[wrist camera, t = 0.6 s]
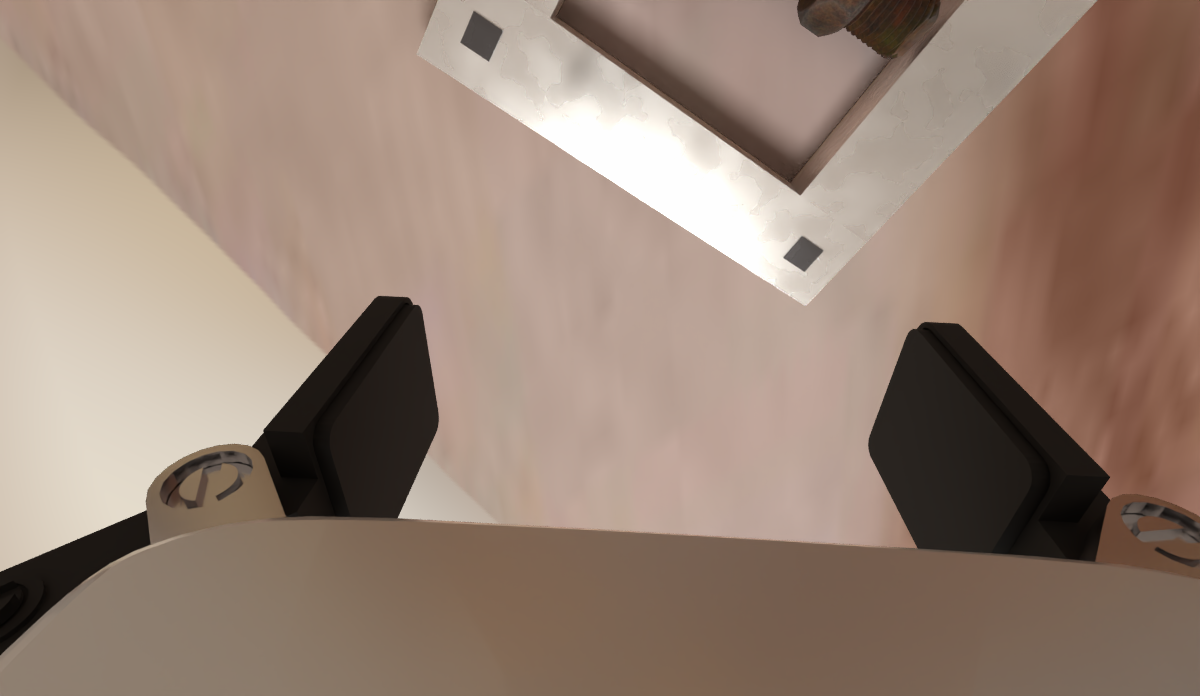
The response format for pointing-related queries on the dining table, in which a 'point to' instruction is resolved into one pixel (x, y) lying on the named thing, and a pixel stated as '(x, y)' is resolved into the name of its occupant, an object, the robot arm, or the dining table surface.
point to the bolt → (872, 21)
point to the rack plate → (723, 169)
